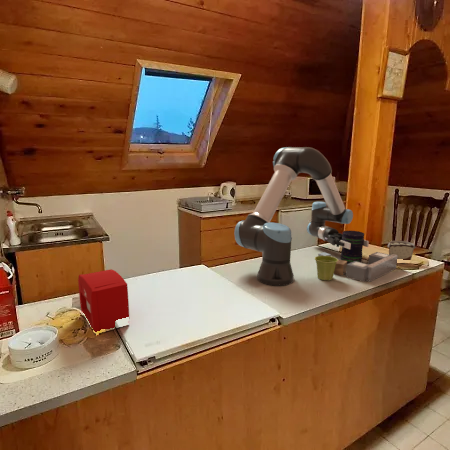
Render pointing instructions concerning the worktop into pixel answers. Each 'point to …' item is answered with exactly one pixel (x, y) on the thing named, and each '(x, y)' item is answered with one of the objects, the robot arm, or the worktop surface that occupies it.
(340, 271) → the walnut block
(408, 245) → the food container
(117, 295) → the fire alarm
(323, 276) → the plant pot
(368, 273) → the rail
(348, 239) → the rusty oil drum
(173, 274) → the worktop surface
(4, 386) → the worktop surface
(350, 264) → the module block
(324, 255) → the bluegrey block
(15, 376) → the worktop surface
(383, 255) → the block
